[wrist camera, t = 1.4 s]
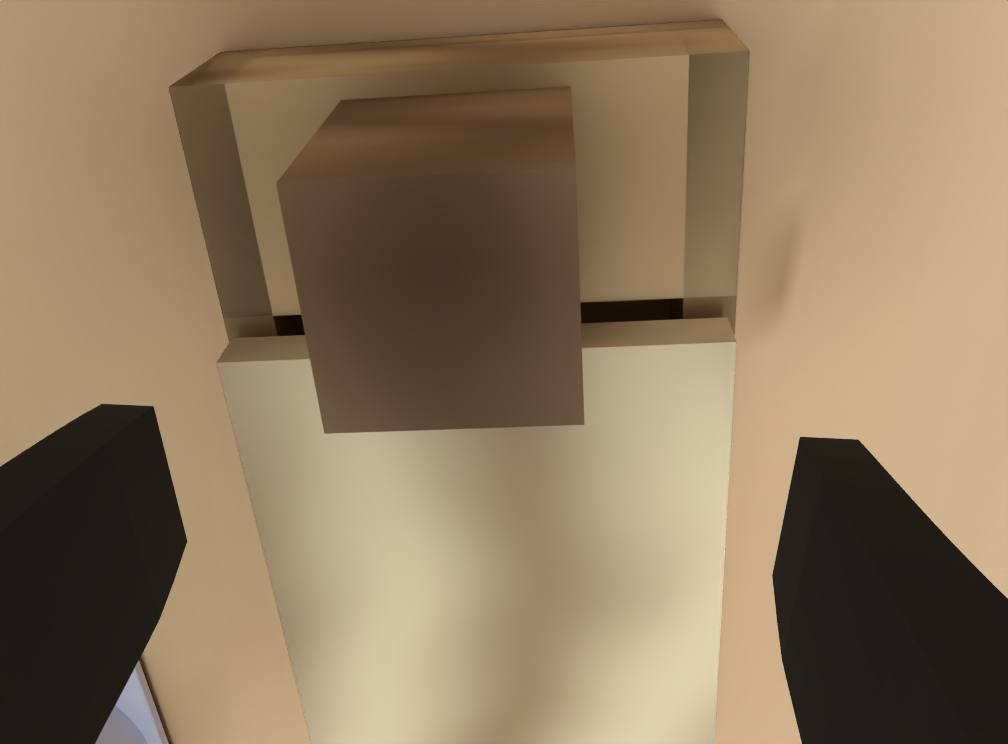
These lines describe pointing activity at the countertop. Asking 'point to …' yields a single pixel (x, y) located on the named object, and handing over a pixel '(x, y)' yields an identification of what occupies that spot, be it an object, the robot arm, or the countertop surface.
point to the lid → (501, 550)
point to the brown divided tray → (492, 67)
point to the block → (440, 261)
